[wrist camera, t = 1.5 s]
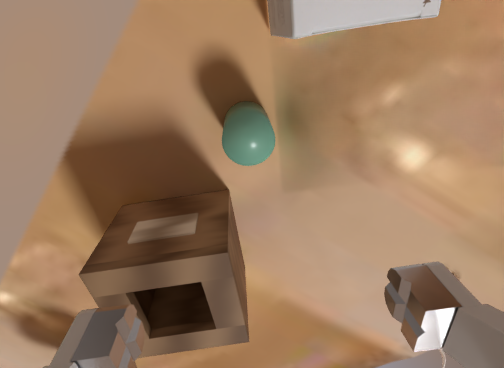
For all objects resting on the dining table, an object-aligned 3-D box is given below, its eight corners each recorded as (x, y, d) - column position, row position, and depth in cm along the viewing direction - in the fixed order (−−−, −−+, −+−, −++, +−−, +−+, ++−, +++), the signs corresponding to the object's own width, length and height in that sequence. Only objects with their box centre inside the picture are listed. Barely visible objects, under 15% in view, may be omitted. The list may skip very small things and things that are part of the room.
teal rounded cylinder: (266, 98, 26) (272, 111, 22) (270, 141, 28) (277, 161, 24) (220, 104, 26) (217, 119, 22) (228, 148, 28) (227, 168, 24)
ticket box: (228, 188, 31) (227, 250, 22) (245, 267, 36) (249, 341, 28) (121, 204, 31) (77, 272, 22) (155, 280, 37) (131, 359, 28)
